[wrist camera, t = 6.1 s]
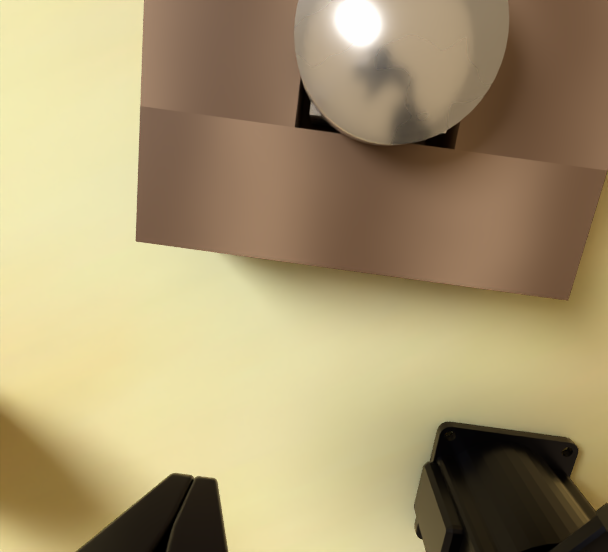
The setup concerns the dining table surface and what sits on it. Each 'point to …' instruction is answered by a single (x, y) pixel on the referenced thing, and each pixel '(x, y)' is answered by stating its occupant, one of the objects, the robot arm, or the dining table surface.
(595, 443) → the dining table surface
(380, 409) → the dining table surface
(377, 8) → the knob steel
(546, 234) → the brown flat block
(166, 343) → the dining table surface
